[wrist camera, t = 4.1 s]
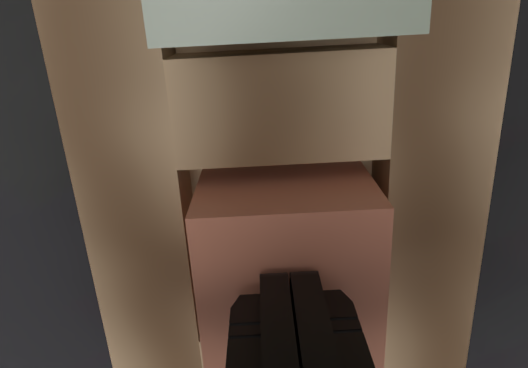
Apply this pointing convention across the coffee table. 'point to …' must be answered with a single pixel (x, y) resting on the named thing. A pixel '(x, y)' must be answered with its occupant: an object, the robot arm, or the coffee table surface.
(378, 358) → the terracotta button
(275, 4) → the sage button
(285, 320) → the robot arm
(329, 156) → the wooden slotted tray
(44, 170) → the coffee table surface
